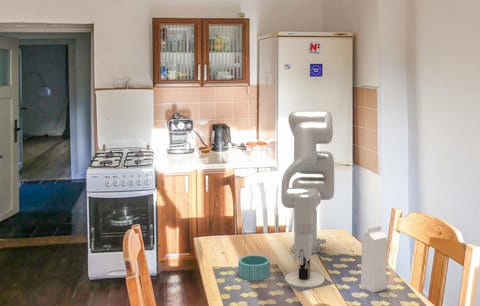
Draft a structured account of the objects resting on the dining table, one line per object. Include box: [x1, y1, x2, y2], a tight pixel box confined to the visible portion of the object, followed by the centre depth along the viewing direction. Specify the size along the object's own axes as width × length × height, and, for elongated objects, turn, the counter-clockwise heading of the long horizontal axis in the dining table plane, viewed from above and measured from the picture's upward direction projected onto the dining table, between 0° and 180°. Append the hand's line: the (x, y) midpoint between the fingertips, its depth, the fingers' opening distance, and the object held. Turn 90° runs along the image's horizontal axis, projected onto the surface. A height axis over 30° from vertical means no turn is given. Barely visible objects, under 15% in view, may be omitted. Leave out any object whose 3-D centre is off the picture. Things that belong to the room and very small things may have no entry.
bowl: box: [238, 254, 271, 282], centre depth 192 cm, size 12×12×6 cm
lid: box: [284, 262, 325, 289], centre depth 185 cm, size 14×14×6 cm
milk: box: [360, 225, 388, 293], centre depth 176 cm, size 6×6×22 cm
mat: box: [275, 269, 335, 293], centre depth 185 cm, size 15×15×1 cm
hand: (304, 276), depth 185 cm, fingers closed on lid, 4 cm apart
